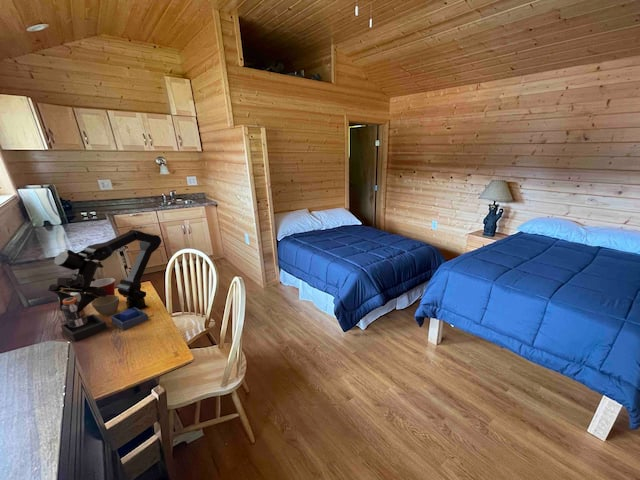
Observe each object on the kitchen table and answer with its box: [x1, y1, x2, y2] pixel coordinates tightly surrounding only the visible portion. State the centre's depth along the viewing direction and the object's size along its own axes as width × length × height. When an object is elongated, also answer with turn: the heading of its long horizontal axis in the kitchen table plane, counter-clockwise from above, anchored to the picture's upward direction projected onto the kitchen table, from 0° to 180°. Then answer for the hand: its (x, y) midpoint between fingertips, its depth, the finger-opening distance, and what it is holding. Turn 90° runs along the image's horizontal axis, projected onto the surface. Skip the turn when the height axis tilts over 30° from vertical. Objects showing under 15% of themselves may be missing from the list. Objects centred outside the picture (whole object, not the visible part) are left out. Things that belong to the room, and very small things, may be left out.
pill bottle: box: [61, 297, 87, 327], centre depth 119 cm, size 6×6×11 cm
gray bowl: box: [90, 294, 120, 317], centre depth 141 cm, size 10×10×7 cm
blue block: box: [119, 309, 138, 322], centre depth 136 cm, size 4×4×4 cm
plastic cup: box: [90, 277, 116, 299], centre depth 148 cm, size 11×11×12 cm
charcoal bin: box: [60, 313, 108, 342], centre depth 128 cm, size 11×11×4 cm
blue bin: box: [109, 307, 149, 331], centre depth 137 cm, size 10×10×4 cm
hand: (69, 311), depth 117 cm, fingers closed on pill bottle, 6 cm apart
